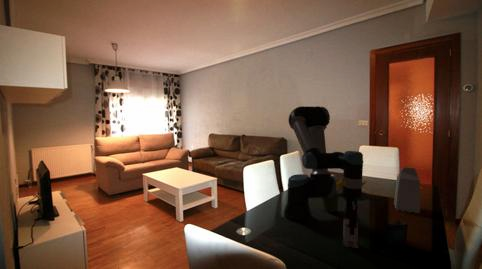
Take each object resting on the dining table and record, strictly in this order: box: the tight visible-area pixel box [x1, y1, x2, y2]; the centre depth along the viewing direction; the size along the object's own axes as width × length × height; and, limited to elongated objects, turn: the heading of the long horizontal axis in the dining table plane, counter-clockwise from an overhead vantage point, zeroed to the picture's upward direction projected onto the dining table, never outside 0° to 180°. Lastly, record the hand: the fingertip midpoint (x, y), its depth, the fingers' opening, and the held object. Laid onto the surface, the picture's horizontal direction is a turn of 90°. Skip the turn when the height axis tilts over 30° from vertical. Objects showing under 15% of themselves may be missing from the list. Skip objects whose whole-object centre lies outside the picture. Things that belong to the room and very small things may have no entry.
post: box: [341, 238, 360, 250], centre depth 105 cm, size 6×6×8 cm
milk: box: [393, 166, 421, 214], centre depth 145 cm, size 12×12×26 cm
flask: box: [386, 218, 409, 245], centre depth 107 cm, size 9×3×11 cm, turn 95°
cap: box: [342, 218, 359, 243], centre depth 104 cm, size 5×5×8 cm
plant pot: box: [321, 191, 341, 213], centre depth 142 cm, size 12×12×11 cm
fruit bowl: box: [335, 176, 366, 196], centre depth 176 cm, size 28×27×11 cm
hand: (350, 237), depth 105 cm, fingers closed on cap, 5 cm apart
